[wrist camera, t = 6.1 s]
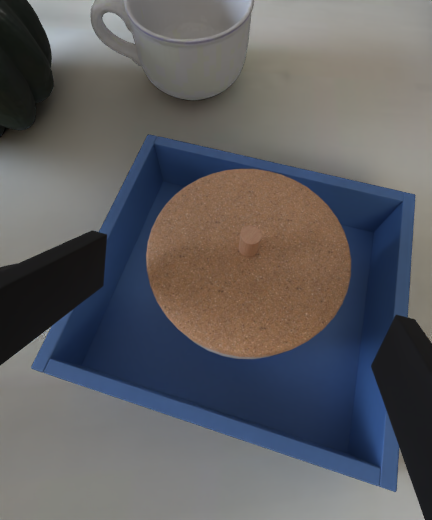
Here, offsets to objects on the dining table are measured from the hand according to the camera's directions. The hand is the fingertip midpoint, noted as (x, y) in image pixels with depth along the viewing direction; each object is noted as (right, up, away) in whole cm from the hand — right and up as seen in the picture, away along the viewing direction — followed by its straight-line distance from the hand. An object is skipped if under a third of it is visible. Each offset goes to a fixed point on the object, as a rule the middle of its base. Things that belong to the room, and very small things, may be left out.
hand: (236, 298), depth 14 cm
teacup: (-5, +21, +19) cm, 29 cm away
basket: (+1, -1, +10) cm, 10 cm away
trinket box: (+1, -1, +10) cm, 10 cm away
